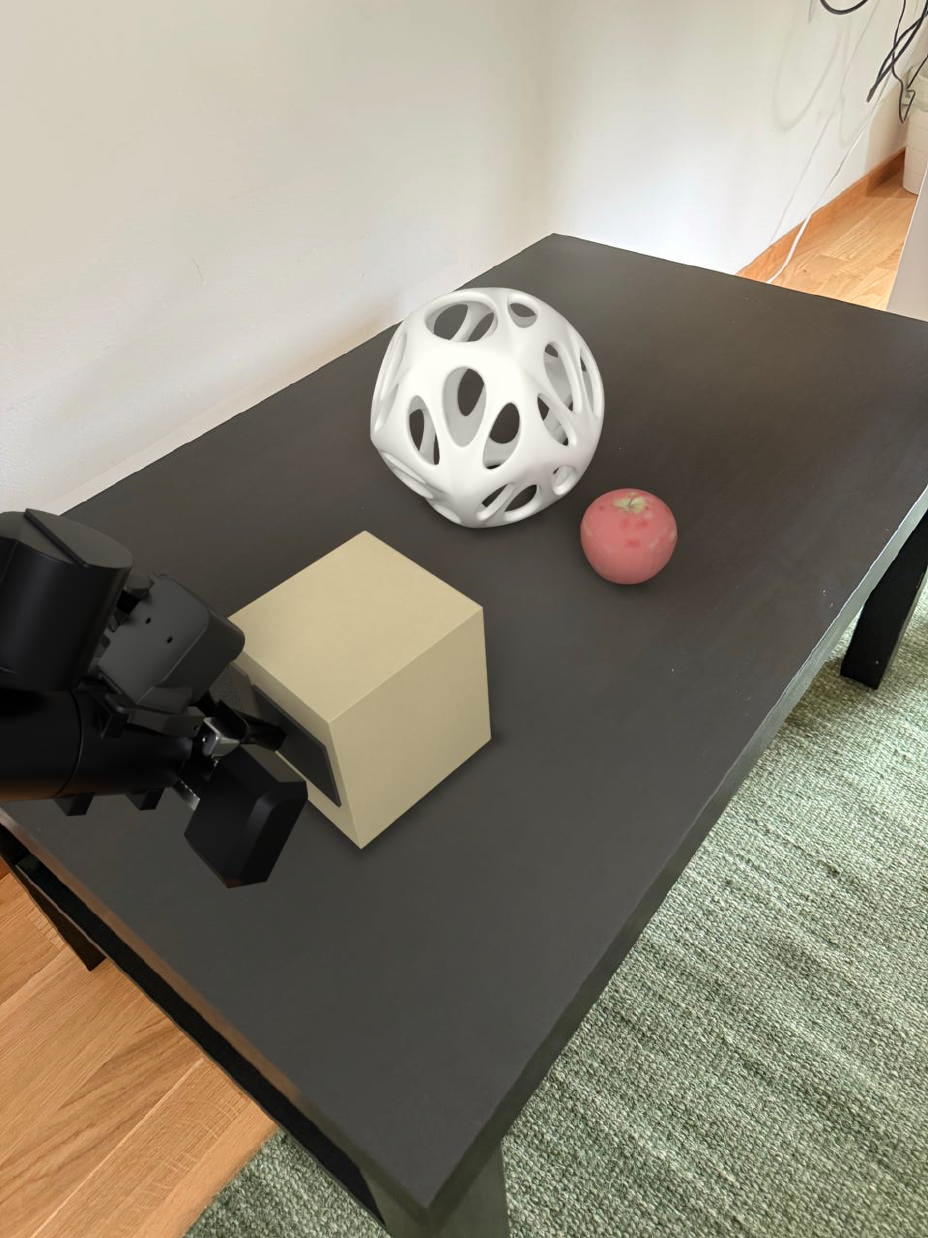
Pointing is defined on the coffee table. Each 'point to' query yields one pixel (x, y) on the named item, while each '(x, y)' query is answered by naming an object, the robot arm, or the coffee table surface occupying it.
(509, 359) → the decorative ball
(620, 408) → the coffee table surface
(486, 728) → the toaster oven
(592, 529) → the apple
